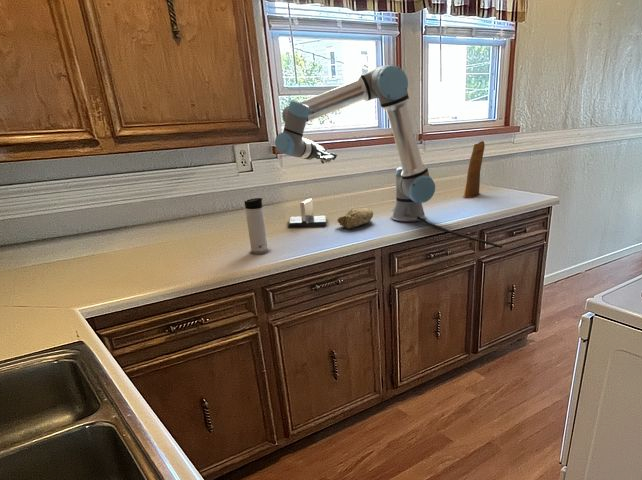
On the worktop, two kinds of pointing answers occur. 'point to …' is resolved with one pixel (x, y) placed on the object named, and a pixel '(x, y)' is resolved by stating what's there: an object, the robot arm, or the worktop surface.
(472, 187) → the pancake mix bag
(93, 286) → the worktop surface
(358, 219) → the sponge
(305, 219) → the thin white box
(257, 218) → the travel mug
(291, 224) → the stove panel
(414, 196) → the robot arm
